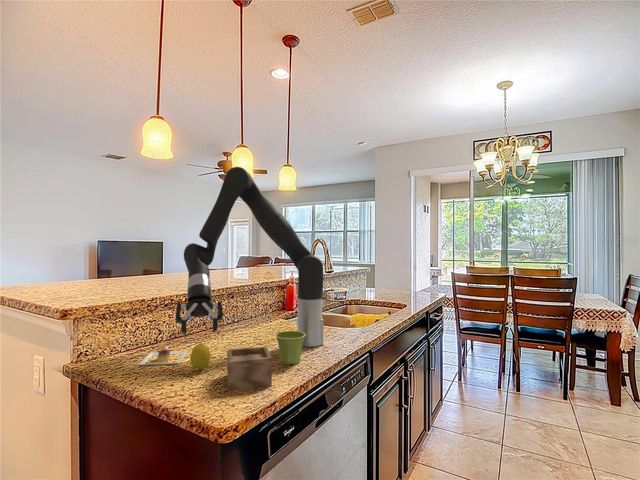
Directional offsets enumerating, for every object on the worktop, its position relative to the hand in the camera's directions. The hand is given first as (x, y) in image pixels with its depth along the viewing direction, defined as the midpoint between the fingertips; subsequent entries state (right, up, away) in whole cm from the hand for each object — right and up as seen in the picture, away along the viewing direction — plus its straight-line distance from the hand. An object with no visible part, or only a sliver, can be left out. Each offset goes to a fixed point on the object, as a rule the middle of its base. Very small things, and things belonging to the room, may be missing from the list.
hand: (199, 332), depth 107 cm
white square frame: (-13, -11, +4) cm, 17 cm away
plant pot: (+28, -11, +3) cm, 30 cm away
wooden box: (+18, -10, -12) cm, 24 cm away
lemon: (+2, -10, -5) cm, 12 cm away
